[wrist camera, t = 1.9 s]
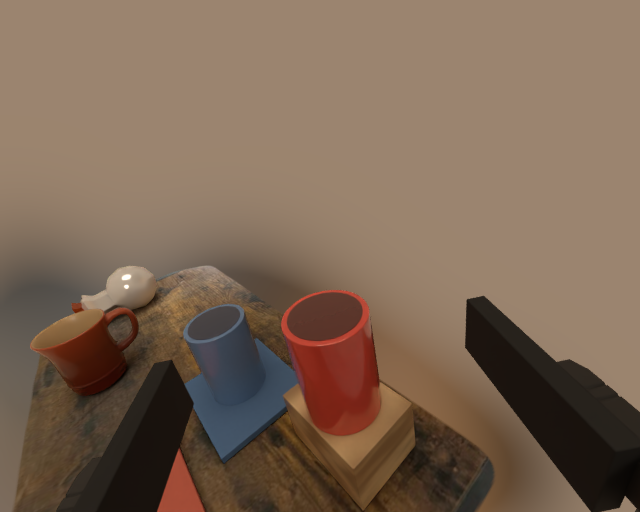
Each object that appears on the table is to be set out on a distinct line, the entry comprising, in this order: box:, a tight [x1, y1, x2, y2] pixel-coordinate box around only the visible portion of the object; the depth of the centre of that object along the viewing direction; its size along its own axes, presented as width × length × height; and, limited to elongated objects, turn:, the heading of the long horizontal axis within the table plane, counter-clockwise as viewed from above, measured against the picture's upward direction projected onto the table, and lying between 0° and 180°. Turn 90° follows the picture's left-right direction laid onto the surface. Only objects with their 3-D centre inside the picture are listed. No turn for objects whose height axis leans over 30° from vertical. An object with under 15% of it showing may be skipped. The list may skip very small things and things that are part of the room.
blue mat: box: [184, 338, 298, 463], centre depth 39 cm, size 14×12×1 cm
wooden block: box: [283, 382, 415, 510], centre depth 30 cm, size 10×8×6 cm
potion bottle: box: [72, 266, 157, 313], centre depth 64 cm, size 9×10×15 cm
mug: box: [30, 308, 139, 396], centre depth 45 cm, size 12×9×10 cm
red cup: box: [281, 290, 382, 436], centre depth 26 cm, size 7×7×10 cm
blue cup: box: [183, 304, 266, 405], centre depth 38 cm, size 7×7×10 cm
